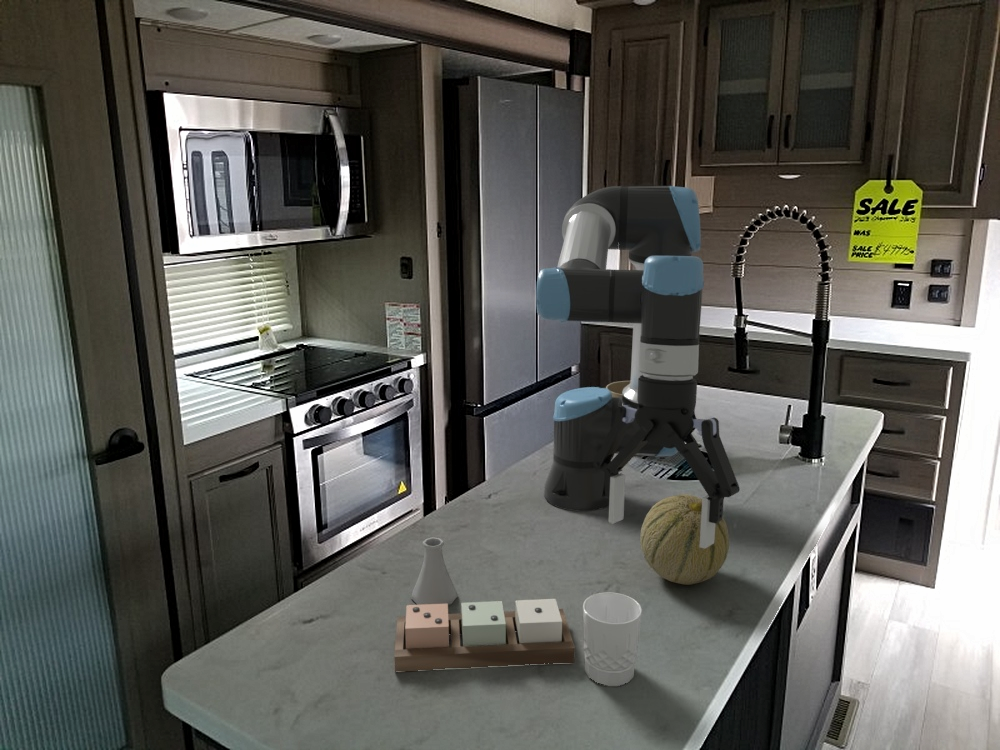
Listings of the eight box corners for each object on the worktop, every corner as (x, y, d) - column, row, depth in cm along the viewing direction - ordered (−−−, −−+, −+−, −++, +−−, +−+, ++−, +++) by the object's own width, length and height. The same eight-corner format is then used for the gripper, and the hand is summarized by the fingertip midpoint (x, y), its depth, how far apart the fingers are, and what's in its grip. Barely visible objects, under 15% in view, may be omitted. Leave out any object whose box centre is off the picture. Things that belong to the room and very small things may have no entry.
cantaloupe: (652, 550, 141) (656, 473, 137) (734, 568, 134) (741, 489, 130) (626, 587, 128) (630, 504, 124) (715, 609, 121) (722, 522, 118)
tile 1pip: (515, 619, 115) (515, 599, 114) (555, 617, 115) (555, 597, 114) (519, 643, 109) (519, 622, 108) (561, 641, 109) (562, 620, 108)
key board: (398, 631, 116) (397, 616, 115) (562, 623, 118) (562, 608, 117) (395, 672, 106) (394, 656, 105) (574, 663, 108) (574, 647, 107)
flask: (434, 581, 130) (432, 527, 127) (466, 596, 125) (465, 540, 123) (402, 599, 124) (400, 543, 122) (435, 615, 120) (433, 557, 117)
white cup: (631, 653, 110) (635, 591, 108) (643, 689, 103) (647, 623, 100) (577, 654, 110) (579, 592, 108) (585, 690, 102) (587, 624, 100)
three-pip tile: (407, 624, 113) (406, 603, 112) (448, 622, 114) (447, 602, 113) (405, 648, 107) (405, 627, 107) (448, 646, 108) (448, 625, 107)
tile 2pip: (461, 622, 114) (461, 601, 113) (501, 620, 114) (501, 599, 113) (463, 646, 108) (462, 624, 107) (505, 644, 109) (505, 622, 108)
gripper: (572, 368, 105) (567, 517, 108) (749, 390, 89) (737, 565, 92) (602, 363, 111) (596, 505, 114) (773, 383, 95) (761, 548, 98)
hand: (659, 532), depth 103 cm, fingers open, 13 cm apart
